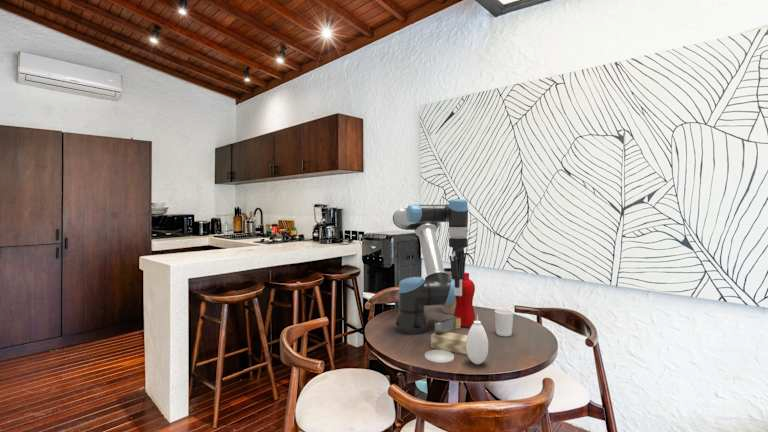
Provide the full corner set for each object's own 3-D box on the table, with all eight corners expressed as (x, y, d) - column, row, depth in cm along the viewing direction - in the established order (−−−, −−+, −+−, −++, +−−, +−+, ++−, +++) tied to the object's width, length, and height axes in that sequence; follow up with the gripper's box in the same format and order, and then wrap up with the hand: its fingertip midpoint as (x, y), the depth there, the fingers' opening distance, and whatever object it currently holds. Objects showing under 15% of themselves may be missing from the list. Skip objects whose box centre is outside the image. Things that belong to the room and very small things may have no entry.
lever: (439, 334, 149) (439, 324, 149) (432, 332, 151) (432, 322, 151) (460, 327, 158) (460, 317, 157) (453, 325, 160) (453, 315, 160)
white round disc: (420, 359, 138) (420, 357, 138) (430, 349, 148) (430, 347, 148) (448, 365, 133) (448, 363, 133) (457, 354, 142) (457, 352, 142)
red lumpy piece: (477, 322, 181) (477, 271, 180) (471, 329, 171) (471, 275, 170) (458, 319, 185) (459, 269, 184) (451, 325, 176) (452, 273, 175)
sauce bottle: (464, 366, 132) (464, 316, 132) (467, 357, 140) (467, 310, 139) (487, 369, 129) (487, 318, 129) (489, 360, 137) (489, 312, 136)
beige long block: (431, 347, 149) (431, 329, 149) (436, 341, 155) (437, 324, 155) (481, 357, 140) (481, 337, 140) (485, 350, 146) (485, 331, 146)
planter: (456, 315, 192) (456, 271, 191) (438, 312, 197) (439, 270, 197) (463, 310, 200) (463, 268, 199) (446, 307, 206) (446, 267, 205)
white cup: (514, 337, 160) (514, 314, 160) (495, 336, 162) (495, 313, 161) (511, 331, 168) (512, 309, 168) (493, 330, 169) (493, 308, 169)
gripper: (460, 238, 143) (460, 299, 143) (472, 236, 154) (472, 293, 154) (442, 238, 147) (443, 297, 147) (455, 236, 158) (455, 291, 158)
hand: (458, 295), depth 151 cm, fingers closed
